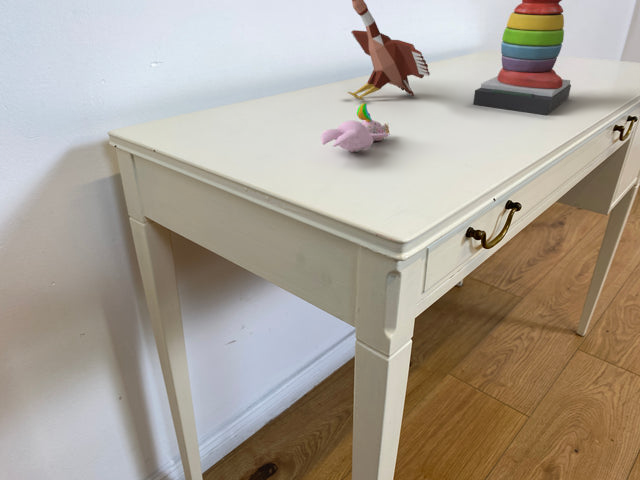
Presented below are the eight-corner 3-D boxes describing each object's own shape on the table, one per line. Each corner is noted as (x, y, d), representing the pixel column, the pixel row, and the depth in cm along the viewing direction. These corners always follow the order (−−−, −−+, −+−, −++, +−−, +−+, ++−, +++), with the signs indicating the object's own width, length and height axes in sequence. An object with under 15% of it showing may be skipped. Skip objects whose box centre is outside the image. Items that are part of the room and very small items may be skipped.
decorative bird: (294, 67, 97) (322, -14, 92) (373, 98, 105) (403, 25, 100) (345, 100, 73) (387, -7, 68) (442, 136, 81) (487, 44, 76)
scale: (546, 115, 79) (551, 94, 77) (472, 104, 85) (475, 85, 84) (568, 98, 89) (572, 79, 87) (500, 90, 95) (503, 72, 94)
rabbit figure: (357, 141, 72) (303, 155, 59) (361, 98, 70) (307, 102, 57) (398, 148, 69) (351, 163, 56) (404, 103, 67) (356, 109, 54)
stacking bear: (564, 89, 80) (592, -38, 72) (497, 87, 82) (517, -38, 74) (553, 77, 90) (577, -38, 81) (493, 74, 92) (511, -37, 83)
